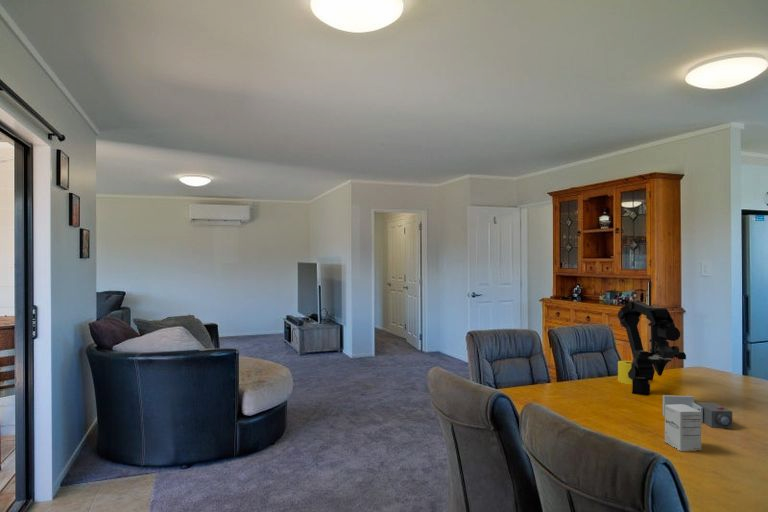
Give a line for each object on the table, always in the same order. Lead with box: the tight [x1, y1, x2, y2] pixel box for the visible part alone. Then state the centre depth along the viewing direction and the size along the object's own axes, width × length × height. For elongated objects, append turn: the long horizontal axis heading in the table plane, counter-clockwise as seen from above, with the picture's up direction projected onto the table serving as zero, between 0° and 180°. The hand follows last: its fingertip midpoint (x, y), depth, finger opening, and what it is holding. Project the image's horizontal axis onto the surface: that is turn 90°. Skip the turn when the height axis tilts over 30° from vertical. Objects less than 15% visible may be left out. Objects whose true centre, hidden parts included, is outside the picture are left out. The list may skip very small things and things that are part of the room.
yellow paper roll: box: [617, 360, 633, 385], centre depth 227 cm, size 10×10×9 cm
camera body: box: [694, 401, 733, 429], centre depth 170 cm, size 12×7×7 cm, turn 175°
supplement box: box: [664, 404, 702, 452], centre depth 149 cm, size 7×7×13 cm
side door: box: [662, 394, 704, 424], centre depth 174 cm, size 6×11×8 cm, turn 85°
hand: (659, 375), depth 193 cm, fingers closed
